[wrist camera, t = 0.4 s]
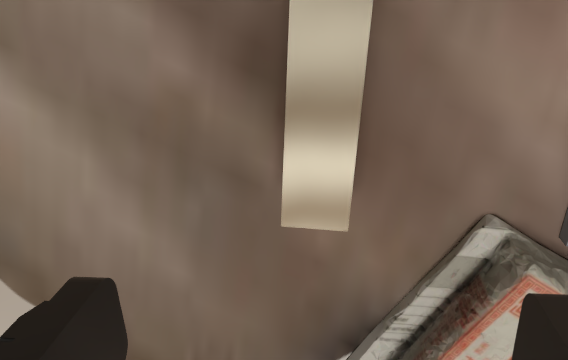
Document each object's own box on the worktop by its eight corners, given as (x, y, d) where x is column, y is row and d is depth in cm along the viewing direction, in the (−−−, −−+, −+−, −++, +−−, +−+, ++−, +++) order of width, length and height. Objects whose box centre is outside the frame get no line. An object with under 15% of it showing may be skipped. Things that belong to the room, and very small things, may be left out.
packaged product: (510, 247, 25) (648, 331, 26) (484, 205, 29) (603, 279, 31) (326, 429, 32) (442, 487, 34) (327, 373, 37) (429, 427, 38)
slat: (299, -61, 24) (292, -66, 19) (370, -58, 24) (380, -63, 19) (288, 186, 30) (280, 226, 25) (345, 190, 29) (347, 231, 25)
